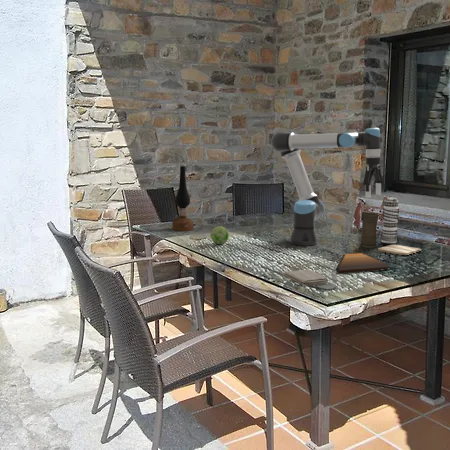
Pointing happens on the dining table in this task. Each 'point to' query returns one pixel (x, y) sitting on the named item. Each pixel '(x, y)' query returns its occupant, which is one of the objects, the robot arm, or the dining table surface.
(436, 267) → the dining table surface
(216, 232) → the decorative ball
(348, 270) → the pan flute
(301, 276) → the washcloth
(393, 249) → the oak board
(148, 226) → the dining table surface
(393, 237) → the decorative candle
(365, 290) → the dining table surface
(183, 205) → the oil lamp
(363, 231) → the container
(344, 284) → the dining table surface
